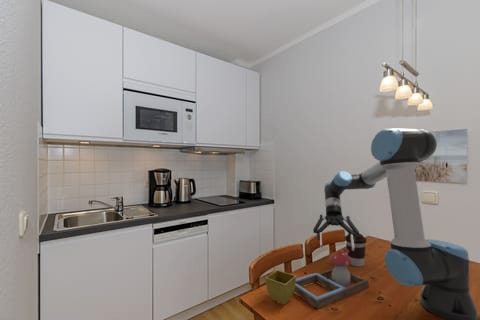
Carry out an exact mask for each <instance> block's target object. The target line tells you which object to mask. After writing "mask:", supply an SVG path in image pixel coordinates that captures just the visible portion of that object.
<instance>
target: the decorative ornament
mask: <svg viewBox="0 0 480 320" xmlns="http://www.w3.org/2000/svg"><path fill="white" fill-rule="evenodd" d="M348 253H349V250H348V249H347V248H344V249H343V250H342V251H337V252H335V253H334V254H332V255H331V257H330V259H329V264H330V265H331V266H334V269H333V268H332V269H333V271H332V277H331V278H330V280H331V281H333V282H335V283H337V284H339V285H341V286H343V287H345V288H346V287H348V286H350V283H351V281H350V279H351V277H350V273H351V272H350V271H349V269H348V266H350V264H351V260H350V258H349V257H348V255H347V254H348ZM349 272H350V273H349Z"/></svg>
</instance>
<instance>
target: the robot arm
mask: <svg viewBox="0 0 480 320" xmlns="http://www.w3.org/2000/svg"><path fill="white" fill-rule="evenodd" d="M437 145H438V142H437V139H436V136H434V134H433V133H431V131H428V130H426V129H425V128H424V129H422V128H405V127H404V128H401V127H391V128H384V129H381V130H380V131H378V132H377V133H376V134H375V136H374V137H373V139H372V141H371V145H370V152H371V155H372V156H373V157H374V159H376V160H377V161H378V162H376V163H375V164H373V165H372V166H370V167H369V168H367V169H365V170H364V171H363V172H361V173H359V174H358V173H357V174H350V172H349V171H345V170H340V171H338V172H337V173H336V174H335V175H334V176H333V179H332V180H331V181H328V182H326V183H325V184H324V199H325V201H324V203H325V204H324V205H325V215H323V214H320V215H319V219H318V220H317V222H316V224H315V226H314V227H313V231H312V232H313V233H314V234H316V236H317V238H316V239H317V241H319V248H320V249H323V239H322V235H323V234H322V232H323V231H325V230H326V229H327V227H329V226H330V225H331V226H337V227H339V226H340V227H341V228H342V229H344V230H345V232H347V233H348V234H350V235H351V236H350V238H351V246H352V250H353V251H354V248H355V247H354V243H356V237H355V236H359V234H360V231H359V230H358V229H357V227H356V226H355V224H354V223H353V222H352V220H351V218H350V216H349V215H346V216H343V210H342V203H341V195H342V194H343V193H344V191H346V190H347V191H348V190H369V189H373V188H374V187H375V185H376V184H377V183H379V182H380V181H382V180H384V179H385V178H386V180H387V181H386V183H387V188H388V189H387V191H388V196H389V204H390V212H391V213H390V214H391V219H392V225H393V226H392V227H393V234H394V238H392V239H391V240H390V242H389V243H390V249H389V250H387V251H386V253H385V254H384V263H385V267H386V269H387V271H388V272H389V274H390V275H391V276H392V278H394V280H396V282H398V283H399V284H401V285H403V286H405V287H421V286H423V288H422V290H421V293H420V298H419V299H420V303H421V305H422V307H424V309H426V310H427V311H428V312H430V313H432V314H434V315H435V316H438V317H440V318H443V319H446V320H478V318H479V317H478V315H479V313H478V309H477V307H476V304H475V302H474V300H473V297H472V294H471V292H470V258H469V252H468V250H467V249H466V248H465V247H464V246H461V245H459V244H455V243H452V242H449V241H443V240H438V239H429V238H428V239H426V238H425V232H424V226H423V218H422V217H423V216H422V211H421V205H420V197H419V191H418V184H417V178H416V172H415V168H416V167H417V166H418V165H419V164H420V163H422V162H424V161H425V160H427V159H429V158H430V157H432V156H433V154H434V153H435V152H436V150H437ZM324 220H326V221H325V222H324V223H323V221H324ZM344 221H345V222H344ZM322 223H323V224H322ZM346 223H347V224H346Z"/></svg>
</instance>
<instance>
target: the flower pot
mask: <svg viewBox="0 0 480 320" xmlns="http://www.w3.org/2000/svg"><path fill="white" fill-rule="evenodd" d="M296 279H297V276H296V275H295V274H293V273H292V274H291V273H288V272H285V271H281V270H279V269H276V270H274V271H273V272H271V273H270V274H269V275H267V276H266V277H265V284H266V289H267V294H268V295H269V297H270V299H271V300H272V301H273V300H274V301H273V302H275V301H277V302H276V303H278V302H279V303H278V304H280V303H281V304H280V305H282V304H283V305H284V304H285V305H286V304H287V303H288V302H289V301H290V300H291V298H292V297H293V295H294V294H295V293H294V290H295V282H296ZM286 302H287V303H286ZM285 305H284V306H285Z"/></svg>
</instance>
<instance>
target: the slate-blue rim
mask: <svg viewBox="0 0 480 320" xmlns="http://www.w3.org/2000/svg"><path fill="white" fill-rule="evenodd" d="M314 276H318V277H320V278H321V279H323V280H325V281H327V282H329V283H331V284H333V285H334V286H336V287H338V288H339V289H336V290H333V291H329V292H326V293H323V294H320V295H318V296H317V295H315V294H313V293H312V292H310V291H309V290H307V289H306V288H304V287H301V286H299V285H298V284H296V282H299V281H302V280H305V279H308V278H311V277H314ZM296 282H295V287H297V288H298V289H300V290H301V291H303V292H304V293H306V294H307V295H309V296H310V297H312V298H313V299H315V300H316V301H319V300H321V299H324V298H326V297H329V296H331V295H334V294H336V293H339V292H341V291H344V290H346V288H345V287H343V286H341V285H339V284H337V283H335V282H333V281H331V279H330V278H328V279H327V278H326V277H324V276H322V275H320V274H318V272H314V273H311V274H307V275H304V276H300V277H298V278H296Z"/></svg>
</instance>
